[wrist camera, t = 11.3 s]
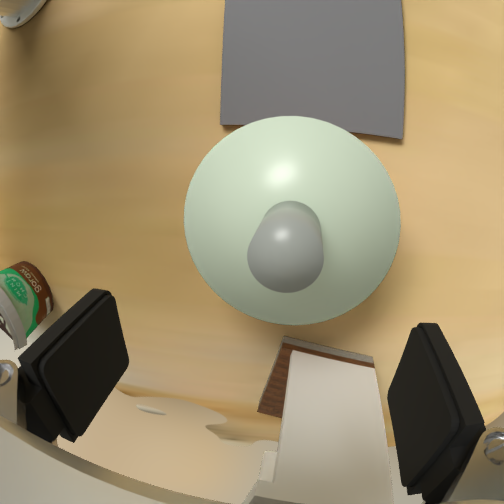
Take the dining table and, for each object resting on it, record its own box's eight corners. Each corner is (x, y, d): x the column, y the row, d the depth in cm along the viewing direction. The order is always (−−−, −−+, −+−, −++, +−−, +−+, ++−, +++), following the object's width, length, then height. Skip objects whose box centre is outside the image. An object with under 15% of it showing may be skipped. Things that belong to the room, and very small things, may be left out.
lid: (188, 115, 20) (147, 112, 15) (407, 130, 18) (442, 130, 13) (193, 306, 26) (165, 350, 20) (376, 325, 24) (389, 375, 18)
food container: (66, 287, 37) (19, 325, 28) (59, 315, 40) (17, 353, 31) (12, 237, 37) (-36, 263, 27) (8, 267, 39) (-35, 294, 30)
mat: (229, -40, 20) (228, -43, 20) (395, -30, 18) (396, -33, 17) (221, 124, 27) (220, 124, 26) (400, 138, 24) (402, 139, 24)
